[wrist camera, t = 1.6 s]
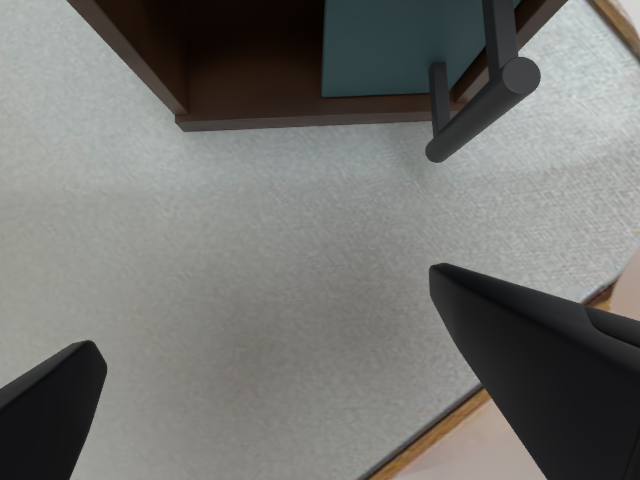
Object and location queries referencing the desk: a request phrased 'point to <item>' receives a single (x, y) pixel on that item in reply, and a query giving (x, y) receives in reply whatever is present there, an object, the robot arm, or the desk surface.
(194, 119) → the cabinet
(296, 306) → the desk surface
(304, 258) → the desk surface
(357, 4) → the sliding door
